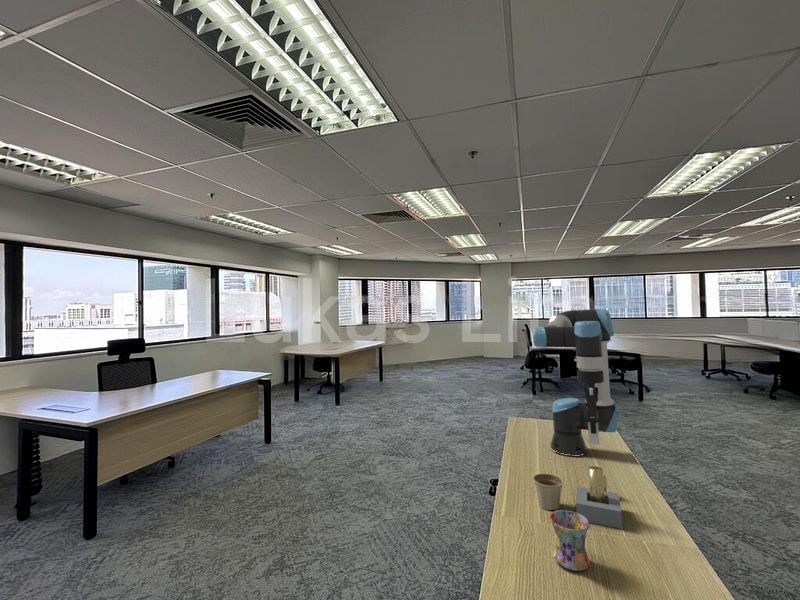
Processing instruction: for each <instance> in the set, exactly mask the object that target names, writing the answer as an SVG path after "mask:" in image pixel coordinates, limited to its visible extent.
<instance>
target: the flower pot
mask: <svg viewBox="0 0 800 600" xmlns="http://www.w3.org/2000/svg"><path fill="white" fill-rule="evenodd" d="M532 480H533V482H534V485H535V489H536V493H537V494H536V495H537V499H538V505H539V506H540V507H541V508H542V509H544V510H547V511H553V510H554V511H558V510H559V509H560V503H561V491H562V487H563V485H564V480H563V478H561V477H559V476H557V475H554V474H551V473H537V474H535V475H533V476H532Z"/></svg>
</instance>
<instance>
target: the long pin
mask: <svg viewBox="0 0 800 600" xmlns="http://www.w3.org/2000/svg"><path fill="white" fill-rule="evenodd" d="M603 476H604V469H603V468H601V467H599V466H594V465H593V466H589V467H588V479H589V481H588V482H589V489H590V499H591V502H597V503H603V504H605V495H604V479H603Z"/></svg>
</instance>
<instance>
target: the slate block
mask: <svg viewBox="0 0 800 600" xmlns="http://www.w3.org/2000/svg"><path fill="white" fill-rule="evenodd" d="M604 495H605V504H603V503H597V502H591V499H590V487H583V486H577V487H576V499H575V507H576V508H575V509H576V513H578V514H580V515H582V516H584V517H585V518H586V519H587V520H588V521H589V524H590V523H591V524H594V525H595V524H596V525H598V526H599V525H600V526H604V527H609V528H613V529H614V528H615V529H620V530H623V515H622V507H621V500H620V495H619V492H612V491H608V490H607V491H604Z"/></svg>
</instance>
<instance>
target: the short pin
mask: <svg viewBox="0 0 800 600" xmlns="http://www.w3.org/2000/svg"><path fill="white" fill-rule="evenodd" d="M603 479H604V491H608V482H607V477H606V476H604V475H603Z"/></svg>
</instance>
